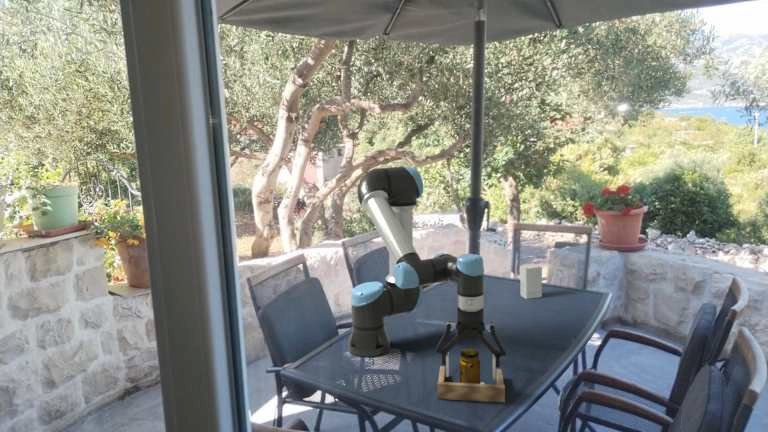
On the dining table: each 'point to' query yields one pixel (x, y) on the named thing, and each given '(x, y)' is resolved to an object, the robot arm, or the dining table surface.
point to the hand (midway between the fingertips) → (470, 376)
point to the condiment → (470, 367)
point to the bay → (471, 389)
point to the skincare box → (531, 281)
